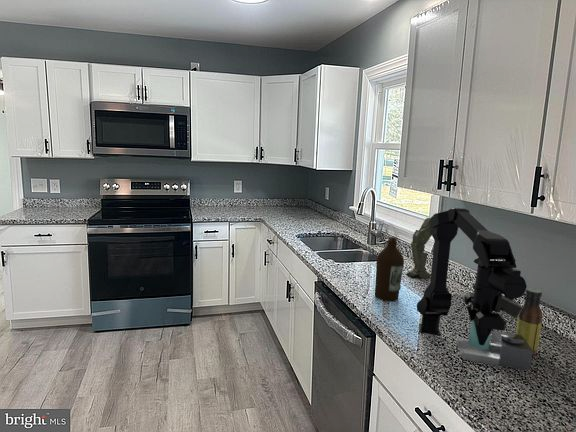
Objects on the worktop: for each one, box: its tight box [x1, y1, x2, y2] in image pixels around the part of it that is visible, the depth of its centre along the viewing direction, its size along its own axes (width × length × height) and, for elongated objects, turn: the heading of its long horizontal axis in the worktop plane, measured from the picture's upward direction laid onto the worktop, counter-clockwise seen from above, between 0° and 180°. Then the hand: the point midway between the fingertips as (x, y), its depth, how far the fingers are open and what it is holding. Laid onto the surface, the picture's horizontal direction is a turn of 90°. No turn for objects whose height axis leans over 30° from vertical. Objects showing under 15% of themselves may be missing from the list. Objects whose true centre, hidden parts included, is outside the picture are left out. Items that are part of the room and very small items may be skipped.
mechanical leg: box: [405, 217, 433, 279], centre depth 193 cm, size 14×7×30 cm, turn 106°
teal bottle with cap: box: [468, 320, 492, 349], centre depth 106 cm, size 5×5×7 cm
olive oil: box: [374, 236, 405, 302], centre depth 161 cm, size 11×11×25 cm
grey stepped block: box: [456, 330, 533, 371], centre depth 118 cm, size 10×18×7 cm, turn 77°
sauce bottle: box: [515, 287, 544, 356], centre depth 121 cm, size 6×6×20 cm
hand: (479, 340), depth 107 cm, fingers closed on teal bottle with cap, 5 cm apart
